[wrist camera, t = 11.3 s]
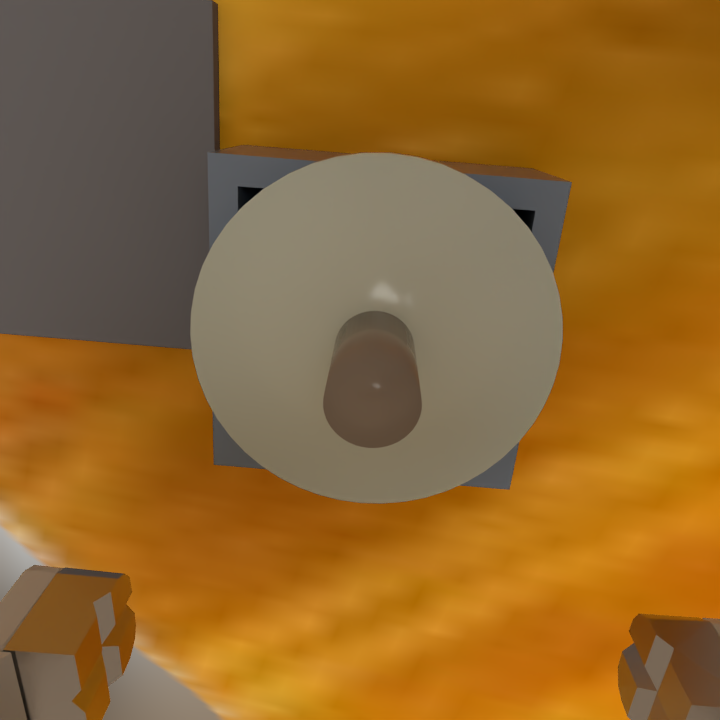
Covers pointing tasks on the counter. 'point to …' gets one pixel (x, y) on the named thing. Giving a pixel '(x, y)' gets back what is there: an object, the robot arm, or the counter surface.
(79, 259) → the mat
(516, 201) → the grey storage tray
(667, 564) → the counter surface
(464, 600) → the counter surface
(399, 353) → the lid
